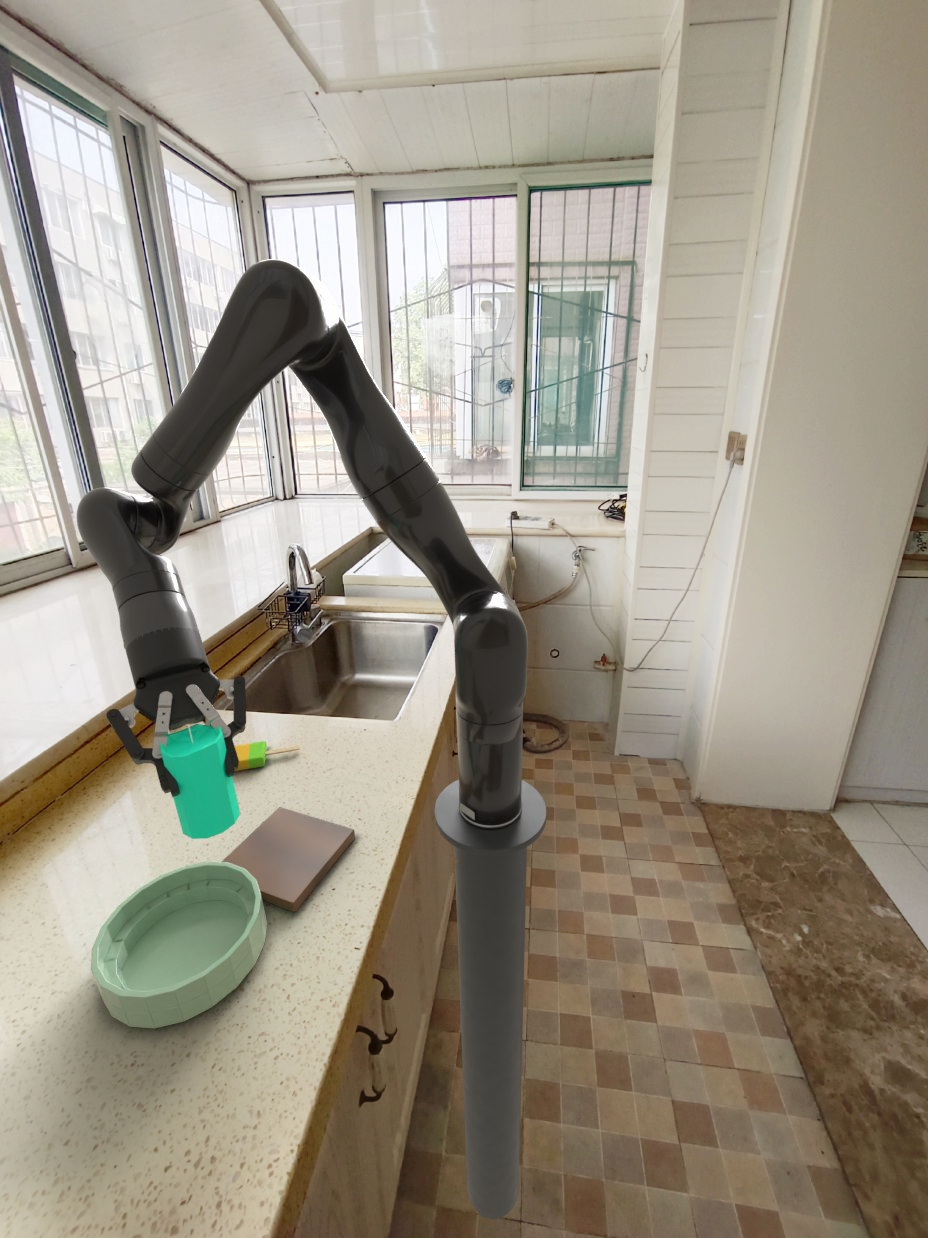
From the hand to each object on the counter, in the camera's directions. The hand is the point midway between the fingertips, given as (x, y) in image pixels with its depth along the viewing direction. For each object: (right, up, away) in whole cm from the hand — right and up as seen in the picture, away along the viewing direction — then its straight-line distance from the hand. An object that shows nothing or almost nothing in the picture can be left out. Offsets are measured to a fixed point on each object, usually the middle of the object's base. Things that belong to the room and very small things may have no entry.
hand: (204, 784), depth 56 cm
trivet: (+3, -15, +16) cm, 22 cm away
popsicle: (-9, -7, +37) cm, 39 cm away
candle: (-1, -5, +4) cm, 6 cm away
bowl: (-3, -20, +4) cm, 20 cm away
